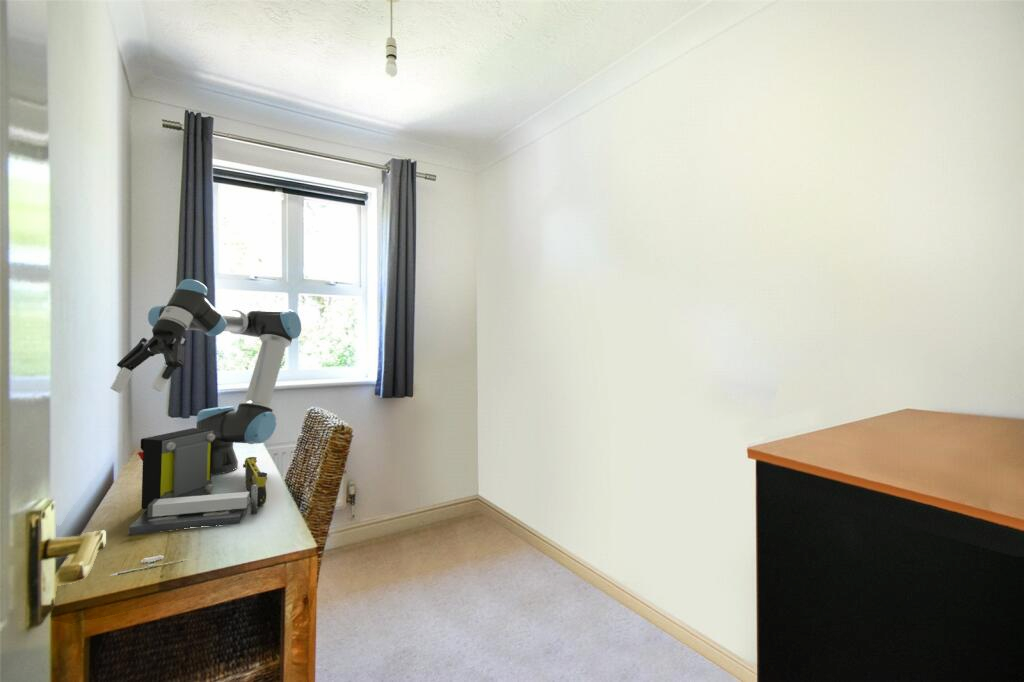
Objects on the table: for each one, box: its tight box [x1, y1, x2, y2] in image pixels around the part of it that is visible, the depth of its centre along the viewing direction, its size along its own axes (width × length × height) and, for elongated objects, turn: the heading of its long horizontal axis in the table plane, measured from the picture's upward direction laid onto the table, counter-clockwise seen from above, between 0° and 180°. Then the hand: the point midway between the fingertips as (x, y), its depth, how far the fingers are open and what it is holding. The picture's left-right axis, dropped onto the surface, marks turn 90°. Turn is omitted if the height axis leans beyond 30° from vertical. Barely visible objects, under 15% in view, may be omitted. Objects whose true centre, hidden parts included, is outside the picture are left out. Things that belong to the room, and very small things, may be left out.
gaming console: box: [242, 456, 268, 508], centre depth 147 cm, size 26×4×10 cm, turn 36°
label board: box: [128, 484, 258, 536], centre depth 128 cm, size 14×27×8 cm, turn 112°
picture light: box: [108, 554, 186, 577], centre depth 102 cm, size 14×4×2 cm, turn 125°
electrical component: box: [137, 427, 215, 510], centre depth 142 cm, size 18×10×20 cm, turn 168°
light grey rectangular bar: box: [148, 491, 250, 518], centre depth 128 cm, size 22×5×3 cm, turn 112°
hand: (135, 390), depth 126 cm, fingers open, 13 cm apart
